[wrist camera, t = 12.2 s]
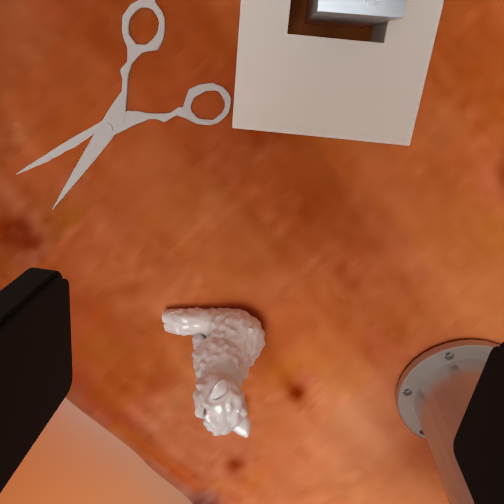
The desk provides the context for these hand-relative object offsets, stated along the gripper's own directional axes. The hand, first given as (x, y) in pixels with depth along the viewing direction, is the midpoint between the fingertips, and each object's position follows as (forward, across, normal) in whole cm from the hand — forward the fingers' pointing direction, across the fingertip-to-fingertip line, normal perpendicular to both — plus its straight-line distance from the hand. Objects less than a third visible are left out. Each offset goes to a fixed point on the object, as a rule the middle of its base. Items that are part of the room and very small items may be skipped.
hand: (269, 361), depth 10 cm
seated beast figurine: (+28, +3, +18) cm, 34 cm away
